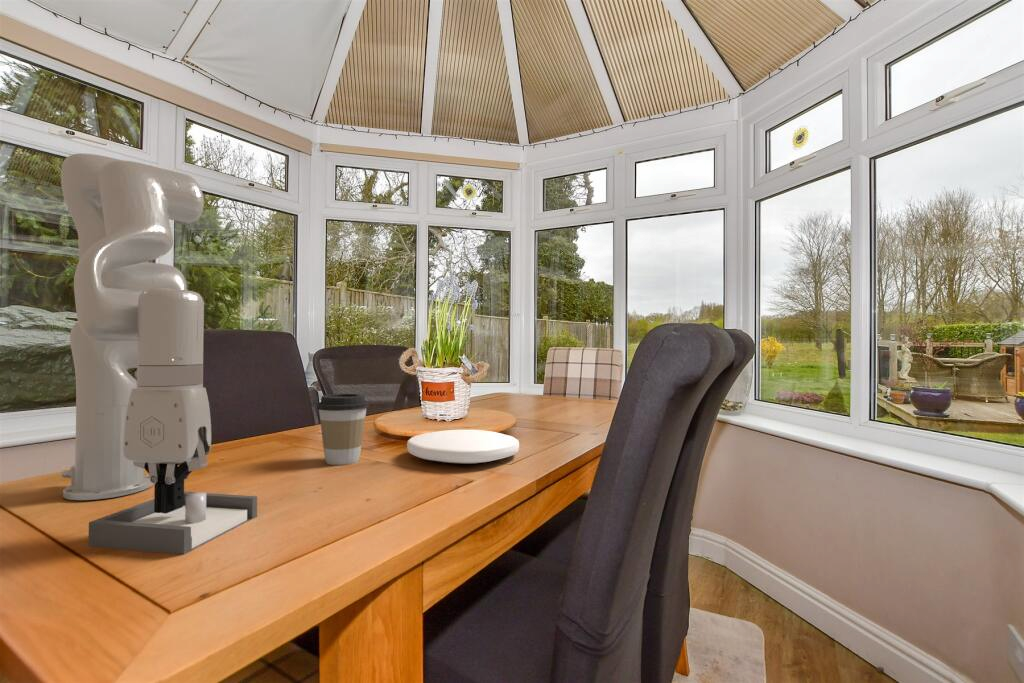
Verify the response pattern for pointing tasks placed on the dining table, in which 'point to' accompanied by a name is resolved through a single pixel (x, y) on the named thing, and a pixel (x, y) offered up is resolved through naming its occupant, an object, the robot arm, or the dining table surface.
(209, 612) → the dining table surface
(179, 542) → the dark box
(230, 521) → the cover plate
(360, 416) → the coffee cup
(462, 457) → the white round disc
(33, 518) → the dining table surface
